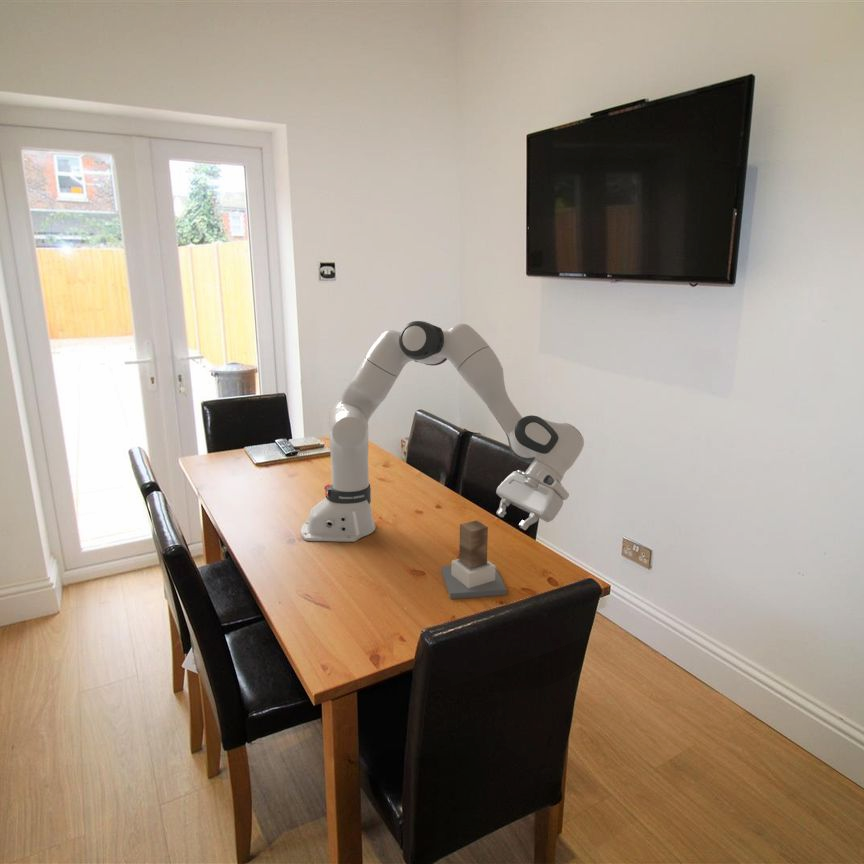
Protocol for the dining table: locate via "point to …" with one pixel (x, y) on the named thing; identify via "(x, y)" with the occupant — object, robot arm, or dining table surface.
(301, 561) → the dining table surface
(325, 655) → the dining table surface
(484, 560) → the walnut column
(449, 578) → the base board
